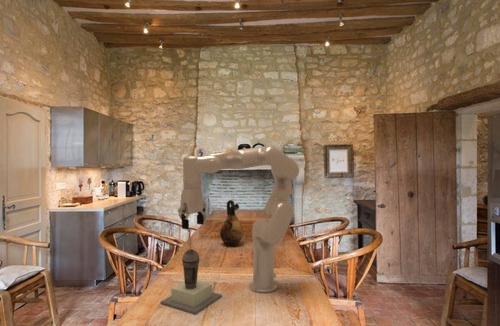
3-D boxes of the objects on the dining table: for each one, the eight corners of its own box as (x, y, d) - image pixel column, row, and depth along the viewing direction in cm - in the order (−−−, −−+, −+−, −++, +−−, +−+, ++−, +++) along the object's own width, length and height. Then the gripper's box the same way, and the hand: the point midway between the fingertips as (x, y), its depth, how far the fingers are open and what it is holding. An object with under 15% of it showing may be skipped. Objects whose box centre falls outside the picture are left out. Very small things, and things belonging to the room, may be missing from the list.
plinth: (189, 288, 149) (189, 275, 149) (221, 296, 141) (221, 283, 140) (160, 304, 134) (160, 289, 133) (195, 314, 125) (195, 299, 125)
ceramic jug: (247, 245, 218) (247, 201, 218) (227, 249, 210) (227, 203, 209) (234, 240, 233) (234, 198, 232) (214, 243, 224) (214, 200, 223)
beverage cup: (183, 291, 131) (183, 242, 131) (180, 285, 138) (180, 238, 137) (201, 289, 134) (201, 240, 134) (197, 282, 141) (197, 236, 140)
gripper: (198, 183, 145) (198, 221, 146) (171, 187, 130) (171, 229, 131) (212, 184, 141) (212, 223, 142) (185, 188, 126) (186, 232, 127)
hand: (193, 226), depth 136 cm, fingers open, 9 cm apart
